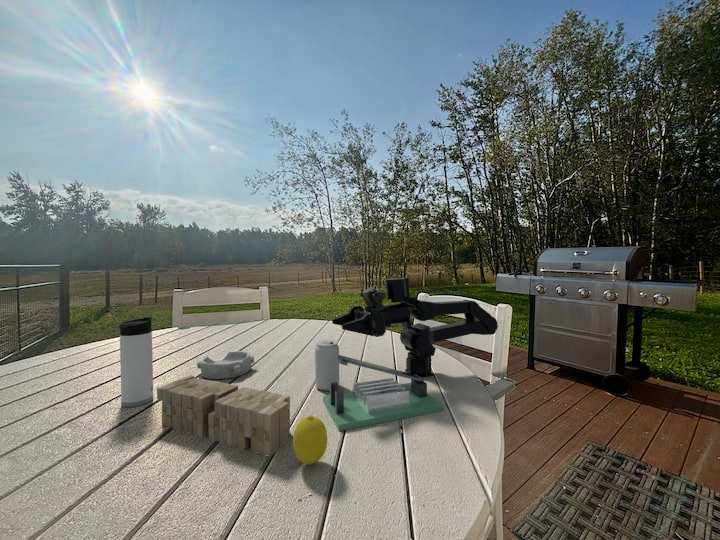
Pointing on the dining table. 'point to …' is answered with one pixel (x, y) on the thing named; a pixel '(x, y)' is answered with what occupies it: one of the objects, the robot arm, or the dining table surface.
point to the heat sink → (378, 395)
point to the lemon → (310, 440)
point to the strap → (377, 368)
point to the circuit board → (359, 416)
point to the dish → (226, 365)
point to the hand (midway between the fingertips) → (336, 324)
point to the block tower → (227, 413)
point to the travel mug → (136, 362)
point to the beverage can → (326, 364)
